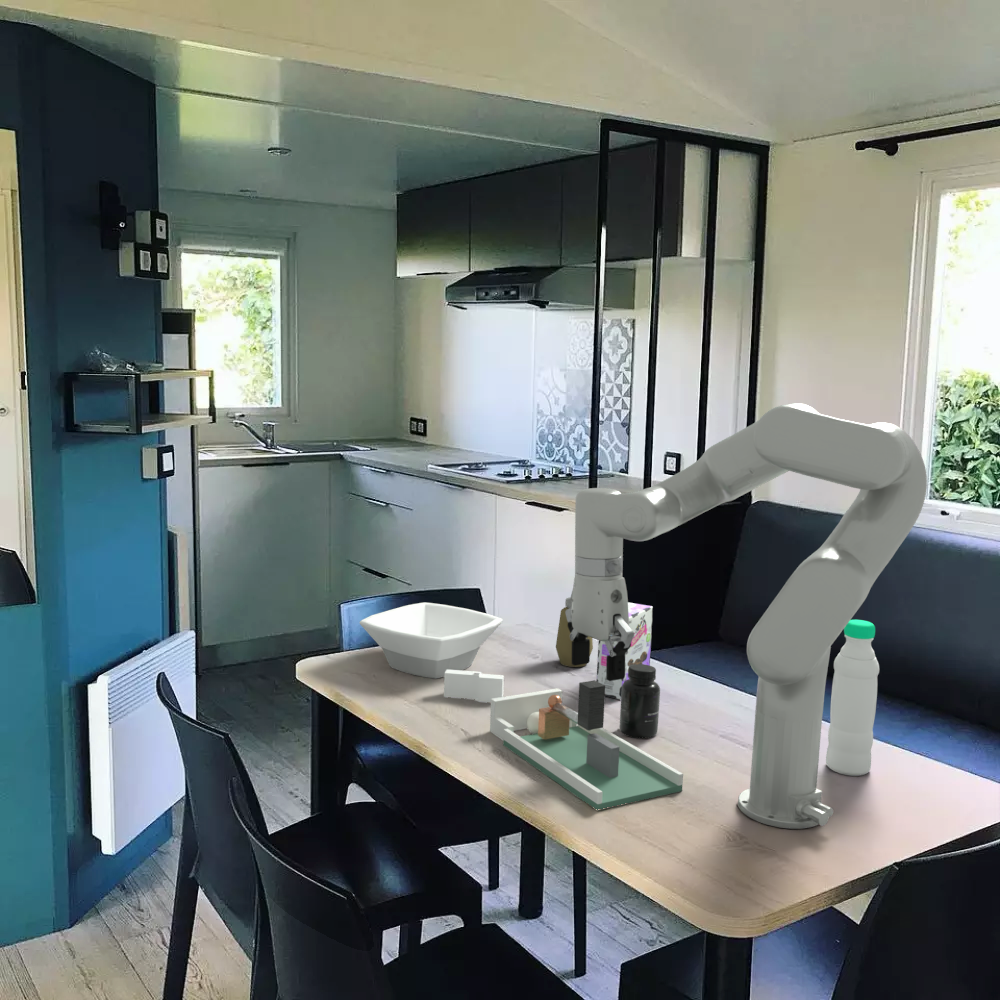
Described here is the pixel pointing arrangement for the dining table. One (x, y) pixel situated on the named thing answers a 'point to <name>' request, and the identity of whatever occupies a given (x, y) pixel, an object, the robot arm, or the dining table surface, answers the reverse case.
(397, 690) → the dining table surface
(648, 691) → the supplement bottle
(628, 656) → the candy box
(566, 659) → the squeeze bottle
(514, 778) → the dining table surface
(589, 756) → the pitch
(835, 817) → the dining table surface
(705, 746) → the dining table surface
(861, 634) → the water bottle
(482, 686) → the white stepped block
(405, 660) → the bowl
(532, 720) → the ball
